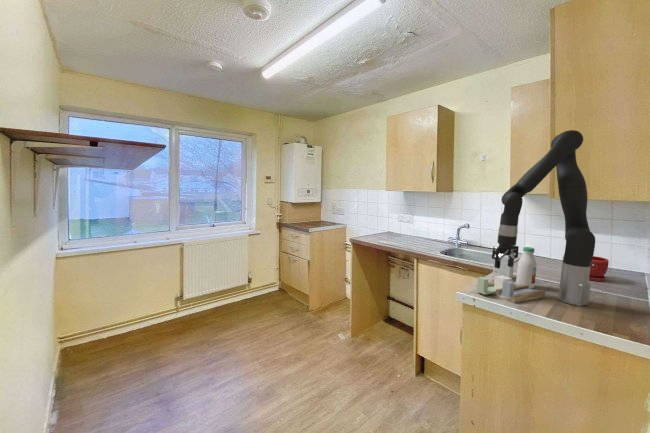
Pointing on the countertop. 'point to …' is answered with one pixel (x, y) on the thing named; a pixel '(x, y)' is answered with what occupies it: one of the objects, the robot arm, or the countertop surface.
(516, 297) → the lane board
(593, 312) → the countertop surface
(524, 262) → the milk bottle
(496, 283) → the block
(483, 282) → the pale green bracket
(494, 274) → the small box
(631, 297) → the countertop surface
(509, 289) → the slat grey
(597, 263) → the plant pot
